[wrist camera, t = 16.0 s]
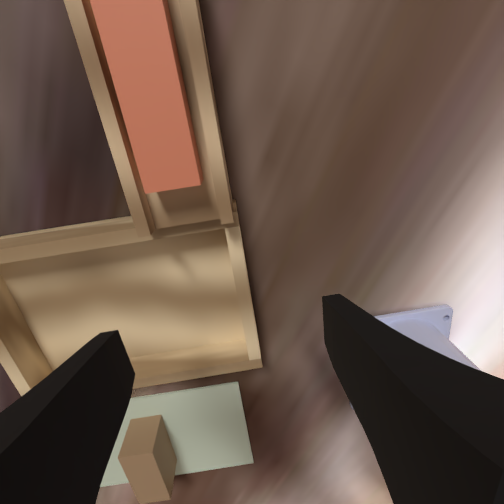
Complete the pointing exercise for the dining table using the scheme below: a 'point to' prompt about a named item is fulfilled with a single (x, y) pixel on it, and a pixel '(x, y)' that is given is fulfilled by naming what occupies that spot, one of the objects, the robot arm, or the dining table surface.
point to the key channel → (202, 115)
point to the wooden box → (128, 299)
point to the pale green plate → (178, 439)
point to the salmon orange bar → (150, 90)
